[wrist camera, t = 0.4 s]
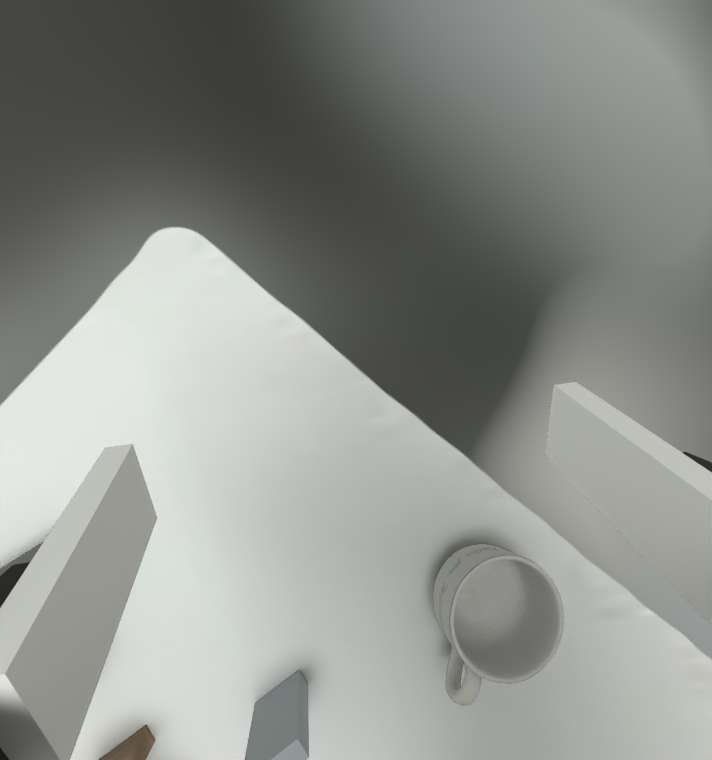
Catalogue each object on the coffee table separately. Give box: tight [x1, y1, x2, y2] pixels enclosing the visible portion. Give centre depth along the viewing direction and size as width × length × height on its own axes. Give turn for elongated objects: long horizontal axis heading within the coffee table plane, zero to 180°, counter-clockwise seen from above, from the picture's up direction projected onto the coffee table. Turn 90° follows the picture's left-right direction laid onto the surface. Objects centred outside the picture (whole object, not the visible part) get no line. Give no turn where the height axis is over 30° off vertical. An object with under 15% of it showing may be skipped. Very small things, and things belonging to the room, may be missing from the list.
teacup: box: [433, 544, 564, 705], centre depth 42 cm, size 14×11×8 cm
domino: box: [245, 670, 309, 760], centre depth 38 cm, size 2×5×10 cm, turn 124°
